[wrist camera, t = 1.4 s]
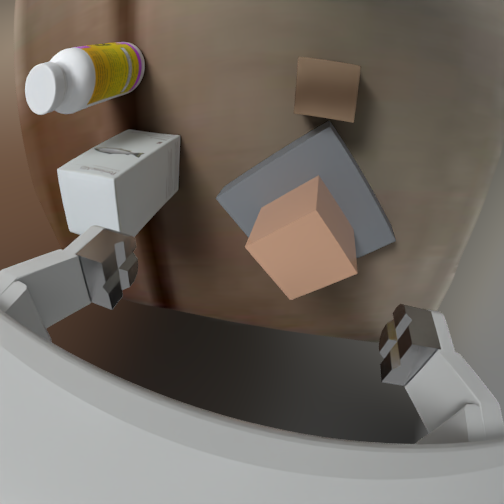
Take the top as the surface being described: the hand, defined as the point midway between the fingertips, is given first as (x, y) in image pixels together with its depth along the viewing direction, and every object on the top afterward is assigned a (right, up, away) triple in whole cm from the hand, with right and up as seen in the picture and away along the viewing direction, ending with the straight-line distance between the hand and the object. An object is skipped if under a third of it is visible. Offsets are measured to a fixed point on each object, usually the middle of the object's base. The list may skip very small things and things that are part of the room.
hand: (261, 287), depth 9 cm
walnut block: (+7, +17, +16) cm, 24 cm away
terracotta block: (+6, +4, +22) cm, 23 cm away
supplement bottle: (-15, +22, +18) cm, 32 cm away
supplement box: (-12, +12, +25) cm, 30 cm away
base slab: (+6, +6, +24) cm, 26 cm away
